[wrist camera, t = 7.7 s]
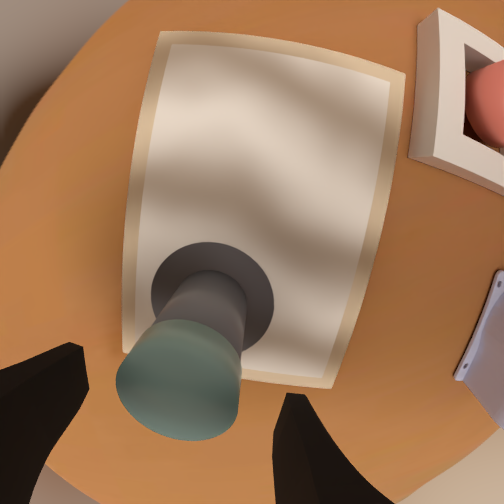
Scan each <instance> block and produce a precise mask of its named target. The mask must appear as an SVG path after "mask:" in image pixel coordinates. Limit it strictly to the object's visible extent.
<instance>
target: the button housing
mask: <svg viewBox="0 0 504 504" xmlns="http://www.w3.org/2000/svg"><path fill="white" fill-rule="evenodd" d="M501 60H504V48H503V47H502V46H501V45H499V44H498V43H496V42H495V41H493V40H492V39H490V38H489V37H487V36H486V35H484V34H483V33H481V32H480V31H478V30H477V29H475V28H473V27H472V26H470V25H468V24H467V23H465V22H463V21H461V20H460V19H458V18H456V17H454V16H453V15H451V14H449V13H447V12H445V11H443V10H441V9H439V8H437V9H436V10H435V11H433V12H432V13H431V14H430V15H429V16H428V17H426V18H425V19H424V20H423V21H422V22H421V23H419V24H418V25H417V70H416V88H415V100H414V111H413V121H412V129H411V137H410V145H409V152H408V158H410V159H413V160H416V161H419V162H422V163H425V164H427V165H430V166H433V167H436V168H438V169H441V170H444V171H446V172H449V173H451V174H454V175H456V176H459V177H461V178H464V179H466V180H469V181H471V182H473V183H476V184H478V185H480V186H483V187H485V188H487V189H489V190H492V191H494V192H496V193H498V194H500V195H502V196H504V148H500V154H499V153H498V152H496V151H494V150H492V149H490V148H489V147H487V146H485V145H483V144H481V143H479V142H477V141H475V140H473V139H471V138H469V137H467V136H465V135H463V126H464V110H465V70H467V71H468V72H470V73H471V72H473V71H475V70H478V69H480V68H483V67H486V66H488V65H491V64H493V63H496V62H499V61H501Z"/></svg>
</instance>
